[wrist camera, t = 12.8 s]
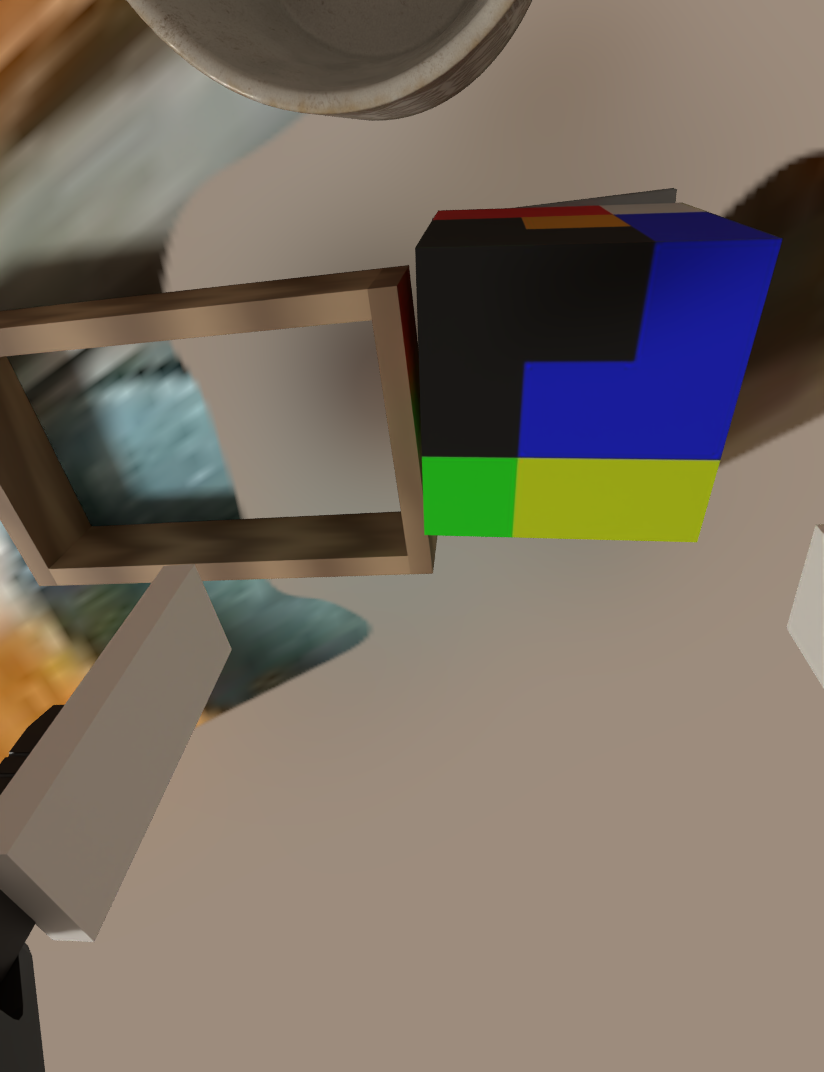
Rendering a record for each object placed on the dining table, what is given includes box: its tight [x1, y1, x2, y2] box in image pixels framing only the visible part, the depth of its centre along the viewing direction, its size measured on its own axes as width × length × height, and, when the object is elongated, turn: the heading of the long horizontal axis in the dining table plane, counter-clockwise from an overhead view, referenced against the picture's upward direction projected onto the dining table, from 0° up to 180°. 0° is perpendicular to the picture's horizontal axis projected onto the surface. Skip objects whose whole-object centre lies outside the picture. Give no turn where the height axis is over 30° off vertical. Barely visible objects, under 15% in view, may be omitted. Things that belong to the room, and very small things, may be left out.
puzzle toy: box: [415, 203, 783, 542], centre depth 23 cm, size 10×10×10 cm
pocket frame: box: [0, 265, 437, 586], centre depth 31 cm, size 23×14×4 cm, turn 97°
